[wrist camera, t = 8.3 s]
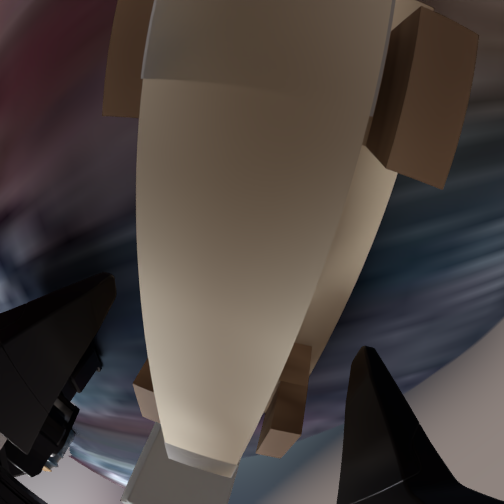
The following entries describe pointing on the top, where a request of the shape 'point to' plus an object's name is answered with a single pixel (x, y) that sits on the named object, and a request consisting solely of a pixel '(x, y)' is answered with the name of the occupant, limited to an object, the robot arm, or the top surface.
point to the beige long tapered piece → (363, 182)
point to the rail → (242, 196)
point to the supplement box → (173, 479)
